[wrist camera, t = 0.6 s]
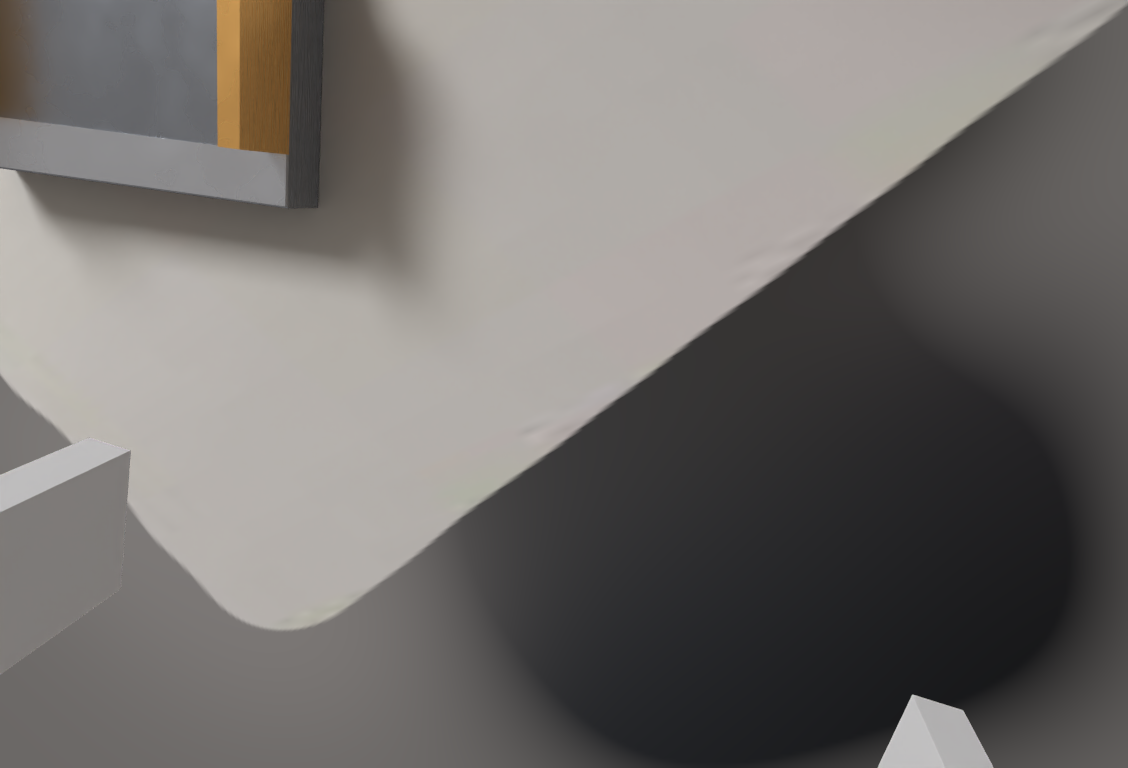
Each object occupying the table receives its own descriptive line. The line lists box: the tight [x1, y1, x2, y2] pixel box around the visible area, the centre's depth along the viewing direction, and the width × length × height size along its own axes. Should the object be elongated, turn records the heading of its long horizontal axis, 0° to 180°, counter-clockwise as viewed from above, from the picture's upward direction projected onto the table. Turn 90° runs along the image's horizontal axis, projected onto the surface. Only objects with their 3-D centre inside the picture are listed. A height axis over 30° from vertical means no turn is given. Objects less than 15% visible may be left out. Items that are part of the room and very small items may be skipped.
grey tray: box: [0, 0, 324, 208], centre depth 33 cm, size 15×18×7 cm
